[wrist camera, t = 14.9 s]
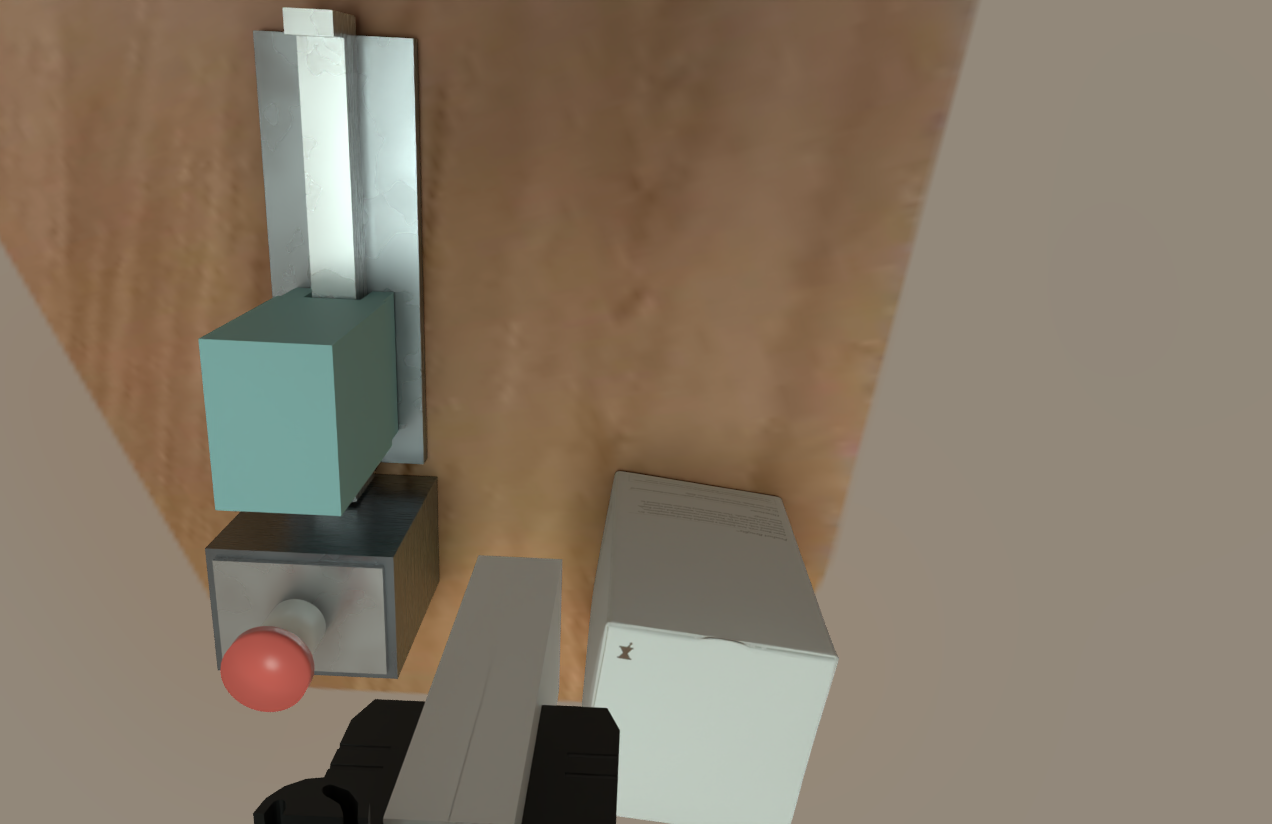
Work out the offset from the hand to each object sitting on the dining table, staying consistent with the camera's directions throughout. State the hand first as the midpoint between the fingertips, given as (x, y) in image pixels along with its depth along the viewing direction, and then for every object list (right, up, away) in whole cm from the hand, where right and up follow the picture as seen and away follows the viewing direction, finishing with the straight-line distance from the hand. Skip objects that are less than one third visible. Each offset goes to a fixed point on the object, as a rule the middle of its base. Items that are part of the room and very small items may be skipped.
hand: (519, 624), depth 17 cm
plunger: (-12, -5, +24) cm, 27 cm away
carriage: (-12, +7, +30) cm, 33 cm away
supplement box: (+5, -4, +33) cm, 34 cm away
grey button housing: (-12, -2, +33) cm, 35 cm away
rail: (-12, +11, +28) cm, 33 cm away
